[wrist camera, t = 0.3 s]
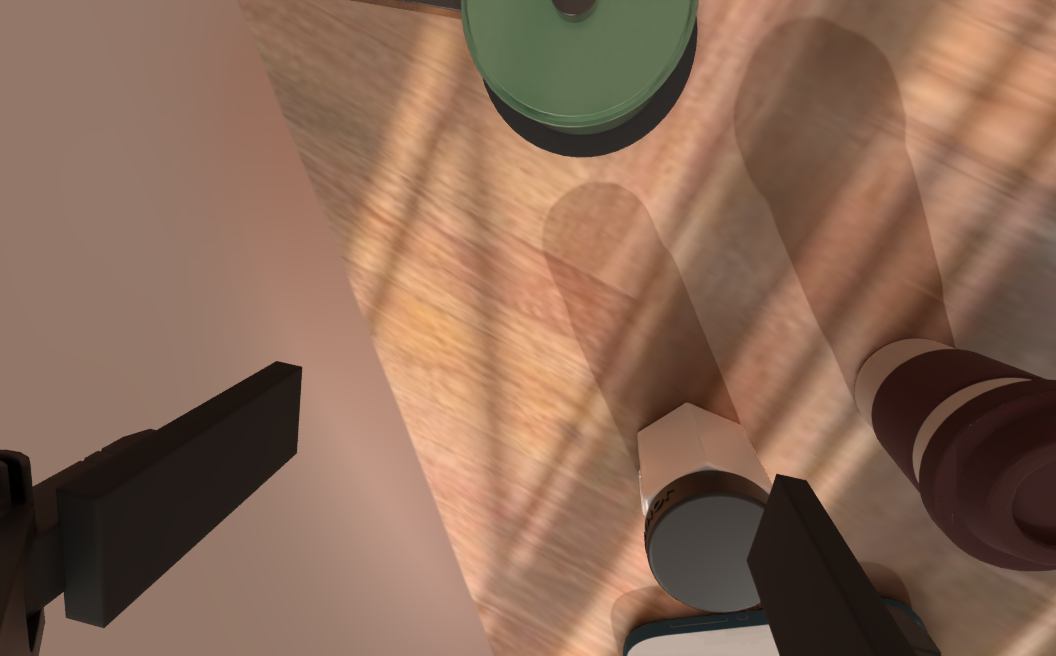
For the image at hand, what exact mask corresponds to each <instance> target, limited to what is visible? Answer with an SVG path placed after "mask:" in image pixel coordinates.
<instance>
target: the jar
mask: <svg viewBox="0 0 1056 656" xmlns="http://www.w3.org/2000/svg"><path fill="white" fill-rule="evenodd" d="M637 441H638V450H639V460H640V470H639V483H640V493H641V502H642V512H643V515H645V532H644V538H645V539H644V541H645V550H646V553H647V558H648V562H649V566H650V569H651V571H652V573H653V575H654V577H655V579H656V580H657V582H658V583H659V584H660V586H661V587H662V588H663V589H664V590H665V591H666V592H667V593H668V594H670V595H671V596H672V597H673V598H675V599H676V600H678V601H680V602H682V603H683V604H685V605H688V606H690V607H693V608H696V609H699V610H703V611H708V612H720V613H724V612H735V611H740V610H744V609H748V608H751V607H753V606H756V605H758V604H760V603H761V601H760V598H759V595H758V593H757V590H756V587H755V584H754V581H753V578H752V575H751V573H750V570H749V567H748V564H747V561H746V560H747V557H748V555H749V552H750V549H751V546H752V543H753V540H754V537H755V535H756V532H757V529H758V526H759V523H760V520H761V517H762V514H763V512H764V509H765V506H766V503H767V500H768V497H769V494H770V492H771V489H772V486H773V484H772V482H771V480H770V478H769V477H768V475H767V473H766V471H765V469H764V467H763V465H762V463H761V461H760V459H759V457H758V455H757V453H756V452H755V450H754V448H753V446H752V444H751V442H750V440H749V438H748V436H747V434H746V432H745V430H744V428H743V426H742V425H740V424H737V423H735V422H733V421H730V420H728V419H726V418H723V417H721V416H719V415H716V414H714V413H712V412H709V411H707V410H705V409H702V408H700V407H697V406H695V405H693V404H690V403H684V404H683V405H681V406H679V407H678V408H676V409H675V410H673V411H671V412H670V413H668V414H667V415H665V416H663V417H662V418H660V419H659V420H657V421H655V422H654V423H652V424H651V425H649V426H647V427H646V428H644V429H643V430H641V431H639V432H638V433H637Z"/></svg>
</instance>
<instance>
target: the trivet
mask: <svg viewBox="0 0 1056 656" xmlns="http://www.w3.org/2000/svg"><path fill="white" fill-rule="evenodd" d="M696 43H697V18H696V19H695V23H694V26H693V30H692V33H691V36H690V39H689V42H688V44H687V46H686V48H685V51H684V53H683V55H682V57H681V59H680V60H679V62H678V64H677V65H676V67H675V69H674V70H673V72H672V73H671V74H670V76H669V77H668V78H667V80H666V81H665V82H664V84H663V85H662V86H661V87H660V88H659V89H658V91H657V93H656V94H655V95H654V97H653V98H652V99H651V101H650V102H649V103H648V104H647V105H646V106H645V107H644V108H643V109H642V110H641V111H640V112H639V113H638V114H636V115H635V116H634V117H633V118H631V119H630V120H628V121H626V122H625V123H623V124H622V125H619V126H617V127H615V128H613V129H610V130H607V131H604V132H601V133H595V134H589V135H575V134H567V133H563V132H559V131H555V130H553V129H551V128H548V127H546V126H544V125H542V124H541V123H539V122H537V121H535V120H533V119H530V118H528V117H526V116H524V115H523V114H521V113H519V112H517V111H516V110H514V109H513V108H512V107H510V106H509V105H508V104H506V103H505V102H504V101H503V100H501V99H500V97H499V96H498V95H497V94H496V93H495V92H494V91H493V90H492V89H491V88H490V87H489V85H488V84H487V83H486V81H485V80H484V79H483V81H484V85H485V87H486V89H487V92H488V94H489V97H490V99H491V101H492V102H493V104H494V106H495V108H496V109H497V111H498V112H499V114H500V115H501V116H502V118H503V119H504V120H505V122H506V123H507V124H508V125H509V126H510V127H511V128H512V129H513V130H514V131H515V132H516V133H518V134H519V135H520V136H521V137H523V138H524V139H525V140H527V141H528V142H530V143H532V144H534V145H535V146H537V147H539V148H542V149H544V150H546V151H549V152H552V153H555V154H559V155H563V156H570V157H594V156H601V155H606V154H609V153H612V152H616V151H618V150H621V149H623V148H625V147H627V146H630V145H631V144H633V143H635V142H636V141H638V140H640V139H641V138H643V137H644V136H645V135H646V134H648V133H649V132H650V131H652V130H653V129H654V128H655V127H656V126H657V125H658V124H659V123H660V122H661V121H662V120H663V119H664V118H665V117H666V115H667V114H668V113H669V111H670V110H671V109H672V107H673V106H674V105H675V103H676V101H677V100H678V98H679V96H680V95H681V93H682V91H683V89H684V87H685V84H686V82H687V80H688V78H689V75H690V71H691V68H692V65H693V62H694V56H695V51H696Z"/></svg>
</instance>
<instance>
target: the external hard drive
mask: <svg viewBox="0 0 1056 656" xmlns="http://www.w3.org/2000/svg"><path fill="white" fill-rule="evenodd" d="M881 599H882V601H883V602H884V604H887V605H891V606H896V607H900V608H902V609H903V610H904V611H906V612H907V613H908V614H909V615H910V616H911V617H912V618H913V619H914V620H915V621H916V622H917V623H918V624H920V625H921V626H922V627H923V628H924V629H925V630H926V628H925V626H924V624H923V623H922V621H921V619H920V618H919V617H918V616H917V614H916V613H915V612H914V611H913V610H912V609H911V608H909V607H908V606H906V605H905V604H903V603H901V602H898V601H895V600H891V599H885V598H881ZM926 631H927V630H926ZM927 633H928V632H927ZM623 656H779V653H778V650H777V647H776V644H775V641H774V638H773V636H772V633H771V630H770V627H769V624H768V621H767V618H766V616H765V613H764V610H763V609H762V610H753V611H744V612H735V613H726V614H717V615H708V616H699V617H690V618H681V619H673V620H664V621H658V622H652V623H649V624H645V625H643V626H640V627H638V628H636V629H635V630H634V631H632V632H631V633H630V634H629V635H628V637H627V638H626V641H625V643H624V648H623Z"/></svg>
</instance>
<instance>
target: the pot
mask: <svg viewBox="0 0 1056 656" xmlns="http://www.w3.org/2000/svg"><path fill="white" fill-rule="evenodd" d="M351 1H357V2H363V3H369V4H375V5H381V6H387V7H392V8H398V9H404V10H410V11H416V12H422V13H428V14H434V15H439V16H445V17H451V18H457V19H462V23H463V30H464V35H465V38H466V42H467V45H468V49H469V51H470V54H471V56H472V58H473V61H474V63H475V65H476V67H477V69H478V70H479V72H480V74H481V76H482V77H483V79H484V80H485V81H486V83H487V84H488V85H489V87H490V88H491V89H492V90H493V91H494V92H495V93H496V94H497V95H498V96H499V97H500V99H501V100H503V101H504V102H505V103H506V104H508V105H509V106H510V107H512V108H513V109H514V110H516V111H517V112H519V113H521V114H523V115H524V116H526V117H528V118H530V119H533V120H535V121H537V122H539V123H541V124H542V125H544V126H546V127H548V128H551V129H553V130H555V131H559V132H563V133H567V134H575V135H589V134H595V133H601V132H604V131H607V130H610V129H613V128H615V127H617V126H619V125H622V124H623V123H625V122H626V121H628V120H630V119H631V118H633V117H634V116H635V115H636V114H638V113H639V112H640V111H641V110H642V109H643V108H644V107H645V106H646V105H647V104H648V103H649V102H650V101H651V99H652V98H653V97H654V95H655V94H656V93H657V91H658V89H659V88H660V87H661V86H662V85H663V84H664V82H665V81H666V80H667V78H668V77H669V76H670V74H671V73H672V72H673V70H674V69H675V67H676V65H677V64H678V62H679V60H680V59H681V57H682V55H683V53H684V51H685V48H686V46H687V44H688V42H689V39H690V36H691V33H692V30H693V26H694V23H695V19H696V13H697V7H698V0H351Z"/></svg>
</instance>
